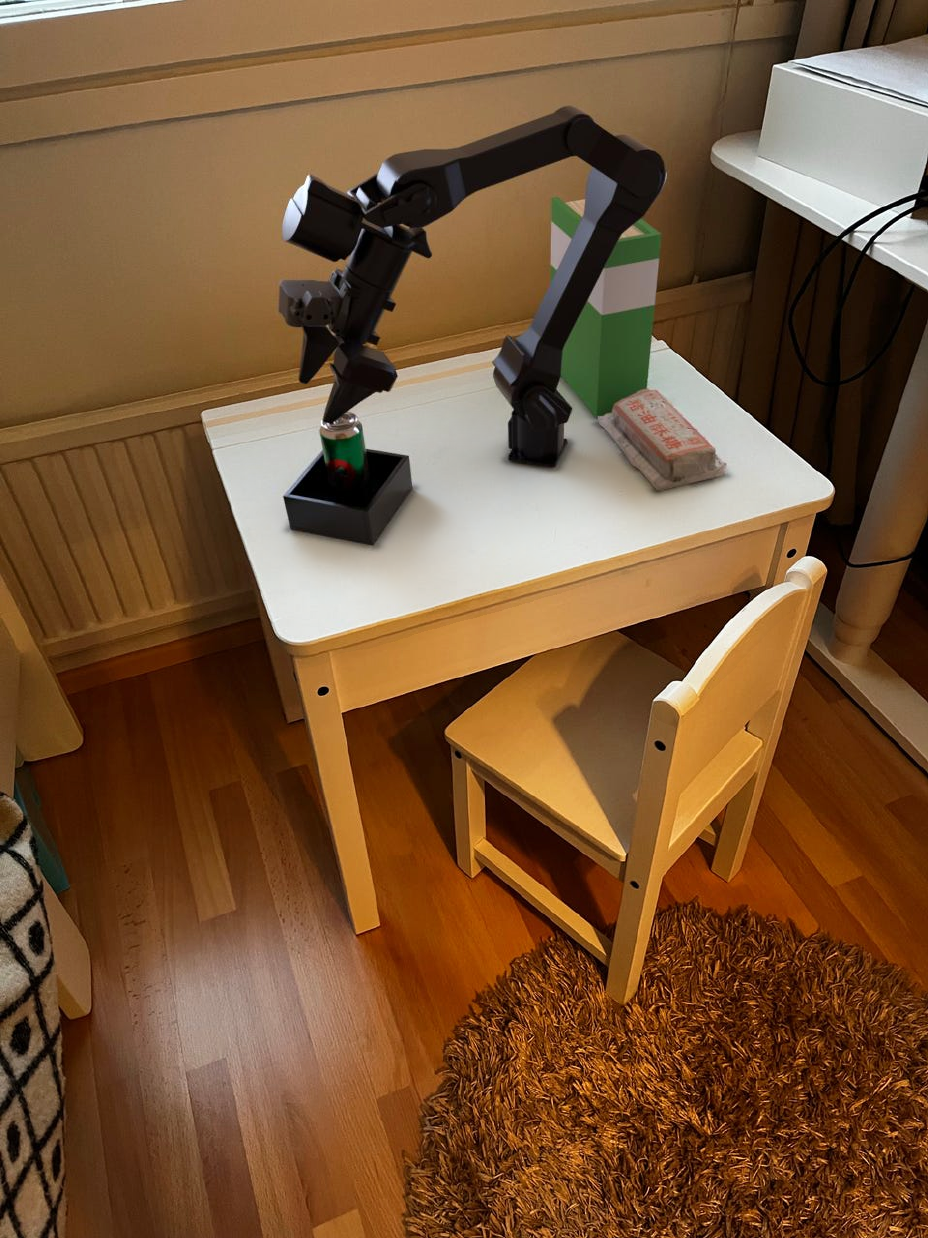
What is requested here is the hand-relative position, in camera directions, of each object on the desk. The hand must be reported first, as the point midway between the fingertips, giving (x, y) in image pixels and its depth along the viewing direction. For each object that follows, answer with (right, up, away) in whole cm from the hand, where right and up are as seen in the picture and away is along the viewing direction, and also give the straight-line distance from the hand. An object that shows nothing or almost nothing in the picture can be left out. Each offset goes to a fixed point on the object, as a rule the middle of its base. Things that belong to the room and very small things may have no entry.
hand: (314, 401), depth 106 cm
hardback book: (+37, +9, +28) cm, 47 cm away
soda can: (+4, -11, +8) cm, 14 cm away
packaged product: (+43, -3, +15) cm, 46 cm away
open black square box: (+4, -11, +8) cm, 15 cm away
